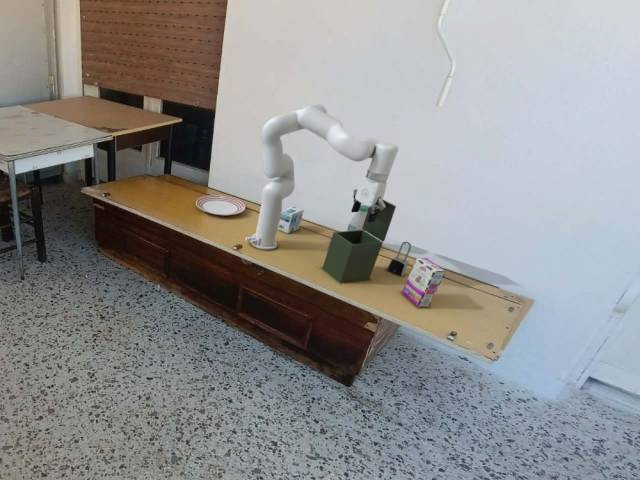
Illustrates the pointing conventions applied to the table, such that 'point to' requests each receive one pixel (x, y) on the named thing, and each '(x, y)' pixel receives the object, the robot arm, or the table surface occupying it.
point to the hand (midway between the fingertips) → (362, 216)
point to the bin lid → (380, 221)
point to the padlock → (399, 263)
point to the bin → (352, 255)
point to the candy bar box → (423, 282)
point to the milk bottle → (358, 219)
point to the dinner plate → (220, 205)
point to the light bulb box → (290, 219)
